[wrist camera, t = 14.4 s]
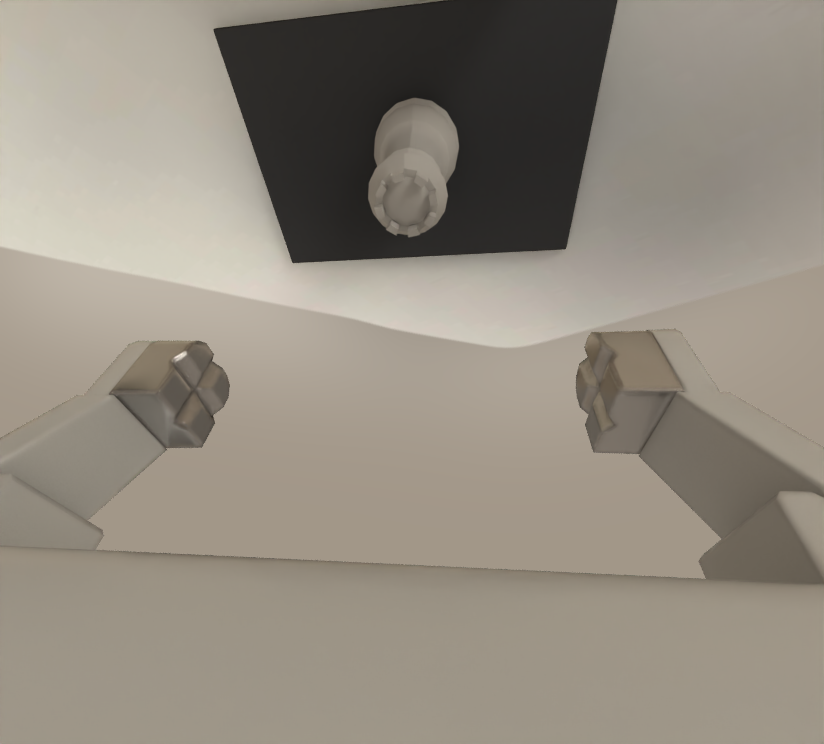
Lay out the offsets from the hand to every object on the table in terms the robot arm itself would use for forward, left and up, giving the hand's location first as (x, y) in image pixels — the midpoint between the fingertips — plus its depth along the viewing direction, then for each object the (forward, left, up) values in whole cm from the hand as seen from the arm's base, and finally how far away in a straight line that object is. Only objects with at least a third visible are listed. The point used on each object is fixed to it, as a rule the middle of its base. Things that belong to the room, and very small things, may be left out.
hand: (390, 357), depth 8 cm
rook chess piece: (0, 0, -17) cm, 17 cm away
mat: (0, +1, -18) cm, 18 cm away
